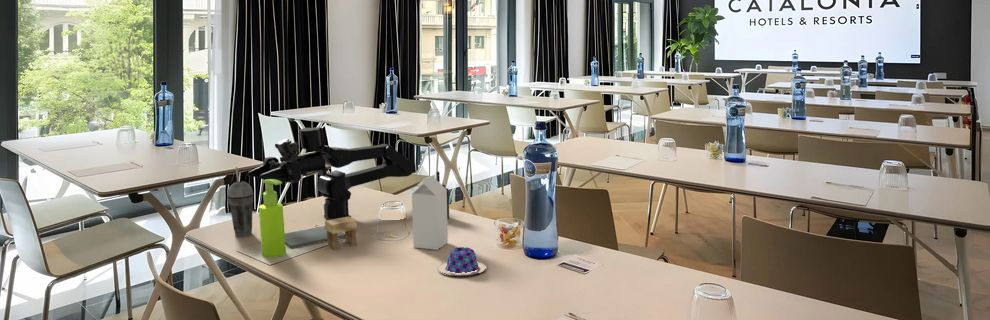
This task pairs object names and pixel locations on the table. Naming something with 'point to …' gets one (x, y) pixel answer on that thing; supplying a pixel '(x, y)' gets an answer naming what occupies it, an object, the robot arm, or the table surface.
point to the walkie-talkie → (447, 194)
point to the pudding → (461, 260)
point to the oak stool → (339, 226)
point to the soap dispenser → (272, 222)
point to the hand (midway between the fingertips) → (254, 175)
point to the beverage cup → (241, 207)
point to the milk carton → (429, 215)
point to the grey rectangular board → (307, 237)
